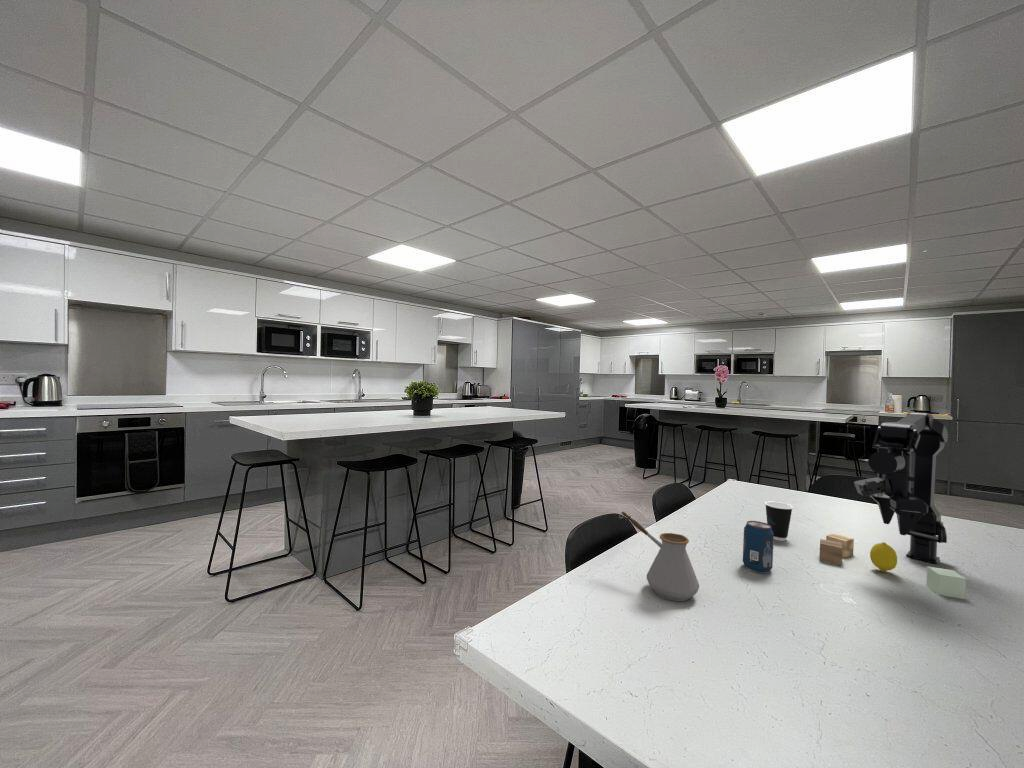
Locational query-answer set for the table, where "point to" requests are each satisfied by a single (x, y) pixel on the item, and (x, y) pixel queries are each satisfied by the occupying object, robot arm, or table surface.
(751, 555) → the soda can
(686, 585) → the coffee pot
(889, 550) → the lemon
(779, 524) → the dixie cup
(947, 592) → the sage block
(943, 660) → the table surface
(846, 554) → the oak block
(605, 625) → the table surface
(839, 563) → the walnut block
